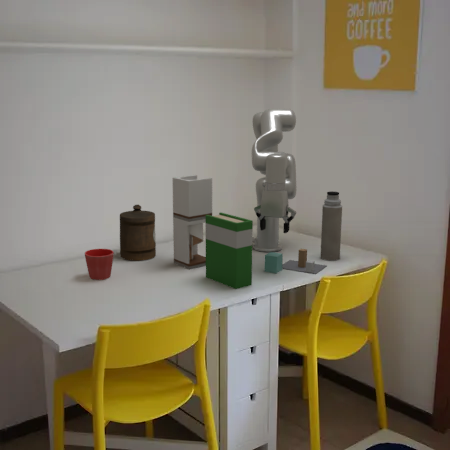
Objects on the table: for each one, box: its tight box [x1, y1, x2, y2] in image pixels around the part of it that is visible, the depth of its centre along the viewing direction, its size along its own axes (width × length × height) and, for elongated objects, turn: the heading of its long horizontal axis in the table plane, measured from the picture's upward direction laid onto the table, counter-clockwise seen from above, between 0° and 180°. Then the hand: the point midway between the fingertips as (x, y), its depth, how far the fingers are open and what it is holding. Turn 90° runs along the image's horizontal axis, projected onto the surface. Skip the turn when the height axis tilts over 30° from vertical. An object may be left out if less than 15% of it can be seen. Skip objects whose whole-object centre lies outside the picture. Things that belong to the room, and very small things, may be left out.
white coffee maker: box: [172, 174, 213, 270], centre depth 250 cm, size 11×11×35 cm
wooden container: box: [119, 204, 157, 262], centre depth 262 cm, size 15×15×22 cm
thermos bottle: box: [320, 191, 343, 262], centre depth 260 cm, size 8×8×28 cm
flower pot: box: [84, 248, 115, 281], centre depth 235 cm, size 11×11×10 cm
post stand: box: [282, 248, 327, 275], centre depth 249 cm, size 16×12×7 cm
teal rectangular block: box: [263, 252, 284, 274], centre depth 244 cm, size 5×5×7 cm
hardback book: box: [205, 212, 254, 290], centre depth 230 cm, size 18×7×24 cm, turn 40°
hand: (274, 231), depth 241 cm, fingers open, 9 cm apart
